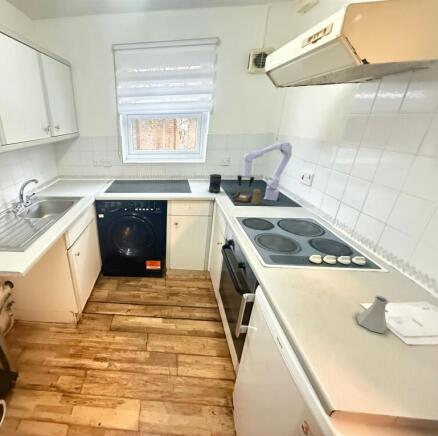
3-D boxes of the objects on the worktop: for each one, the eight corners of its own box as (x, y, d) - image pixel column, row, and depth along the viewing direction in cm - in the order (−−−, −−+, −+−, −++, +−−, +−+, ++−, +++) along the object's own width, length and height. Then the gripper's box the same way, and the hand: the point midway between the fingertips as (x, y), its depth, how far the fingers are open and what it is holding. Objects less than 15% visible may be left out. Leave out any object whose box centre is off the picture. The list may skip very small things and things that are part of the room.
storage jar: (211, 189, 220) (212, 173, 214) (221, 191, 214) (223, 174, 209) (207, 192, 212) (208, 175, 207) (217, 193, 207) (219, 177, 201)
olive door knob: (251, 204, 180) (253, 190, 176) (250, 201, 185) (252, 188, 181) (259, 204, 178) (261, 190, 174) (259, 202, 183) (261, 188, 179)
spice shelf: (250, 196, 197) (251, 192, 196) (246, 202, 183) (247, 198, 182) (238, 195, 202) (238, 190, 201) (233, 201, 188) (233, 196, 187)
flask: (386, 337, 70) (399, 311, 66) (355, 325, 75) (365, 300, 71) (386, 322, 75) (398, 298, 71) (356, 311, 80) (366, 287, 76)
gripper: (236, 169, 186) (234, 186, 191) (255, 170, 178) (253, 188, 183) (238, 167, 191) (236, 184, 196) (257, 169, 183) (255, 186, 188)
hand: (244, 186), depth 190 cm, fingers open, 7 cm apart
